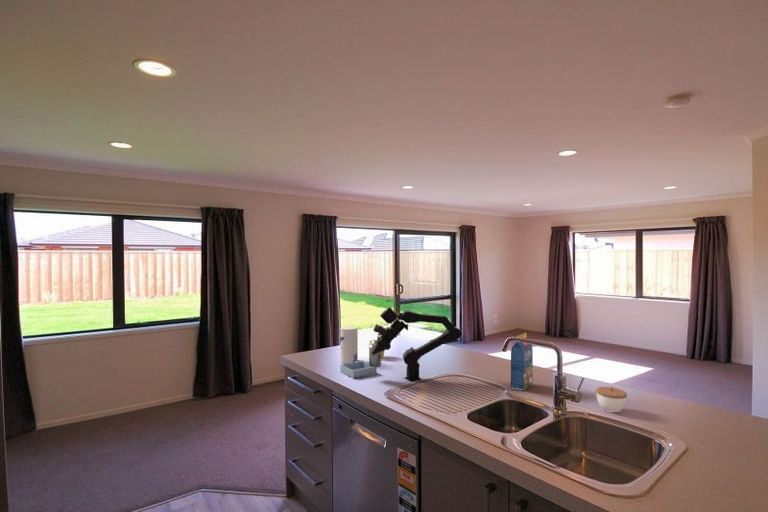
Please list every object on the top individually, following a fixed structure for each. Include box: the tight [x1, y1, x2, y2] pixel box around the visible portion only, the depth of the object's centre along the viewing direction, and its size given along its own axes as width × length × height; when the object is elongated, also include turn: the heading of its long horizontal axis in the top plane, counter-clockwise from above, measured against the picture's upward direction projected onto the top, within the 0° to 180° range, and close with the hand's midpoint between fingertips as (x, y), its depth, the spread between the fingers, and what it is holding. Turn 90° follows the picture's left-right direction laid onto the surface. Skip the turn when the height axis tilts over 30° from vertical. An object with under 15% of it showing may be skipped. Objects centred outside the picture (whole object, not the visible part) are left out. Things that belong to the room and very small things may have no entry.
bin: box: [339, 360, 378, 379], centre depth 208 cm, size 14×14×4 cm
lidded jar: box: [595, 386, 628, 412], centre depth 158 cm, size 11×11×9 cm
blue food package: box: [510, 332, 534, 391], centre depth 186 cm, size 6×12×25 cm, turn 140°
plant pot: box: [369, 339, 386, 359], centre depth 239 cm, size 10×10×10 cm
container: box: [340, 325, 359, 364], centre depth 231 cm, size 10×10×20 cm
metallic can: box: [368, 340, 382, 368], centre depth 197 cm, size 6×6×12 cm
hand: (372, 352), depth 197 cm, fingers closed on metallic can, 6 cm apart
